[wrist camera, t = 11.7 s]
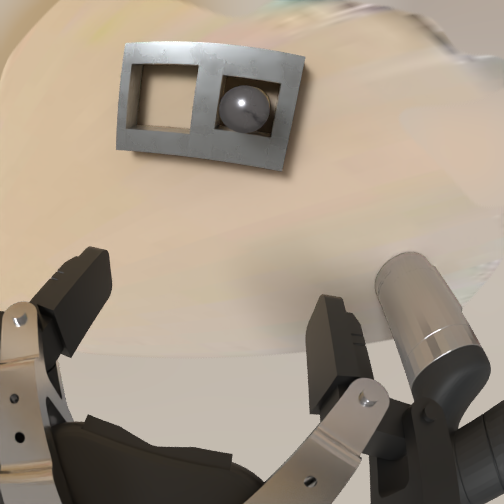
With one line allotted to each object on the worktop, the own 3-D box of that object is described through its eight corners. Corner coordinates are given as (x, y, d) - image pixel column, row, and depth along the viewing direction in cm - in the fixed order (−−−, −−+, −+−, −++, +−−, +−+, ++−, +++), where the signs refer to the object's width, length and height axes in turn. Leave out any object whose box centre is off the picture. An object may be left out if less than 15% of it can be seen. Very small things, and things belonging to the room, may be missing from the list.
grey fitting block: (302, 59, 25) (305, 56, 22) (280, 164, 31) (281, 171, 29) (137, 45, 24) (125, 43, 22) (127, 144, 31) (116, 149, 28)
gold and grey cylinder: (272, 89, 27) (273, 89, 20) (266, 125, 29) (264, 137, 22) (234, 84, 27) (223, 82, 20) (228, 119, 29) (215, 129, 22)
